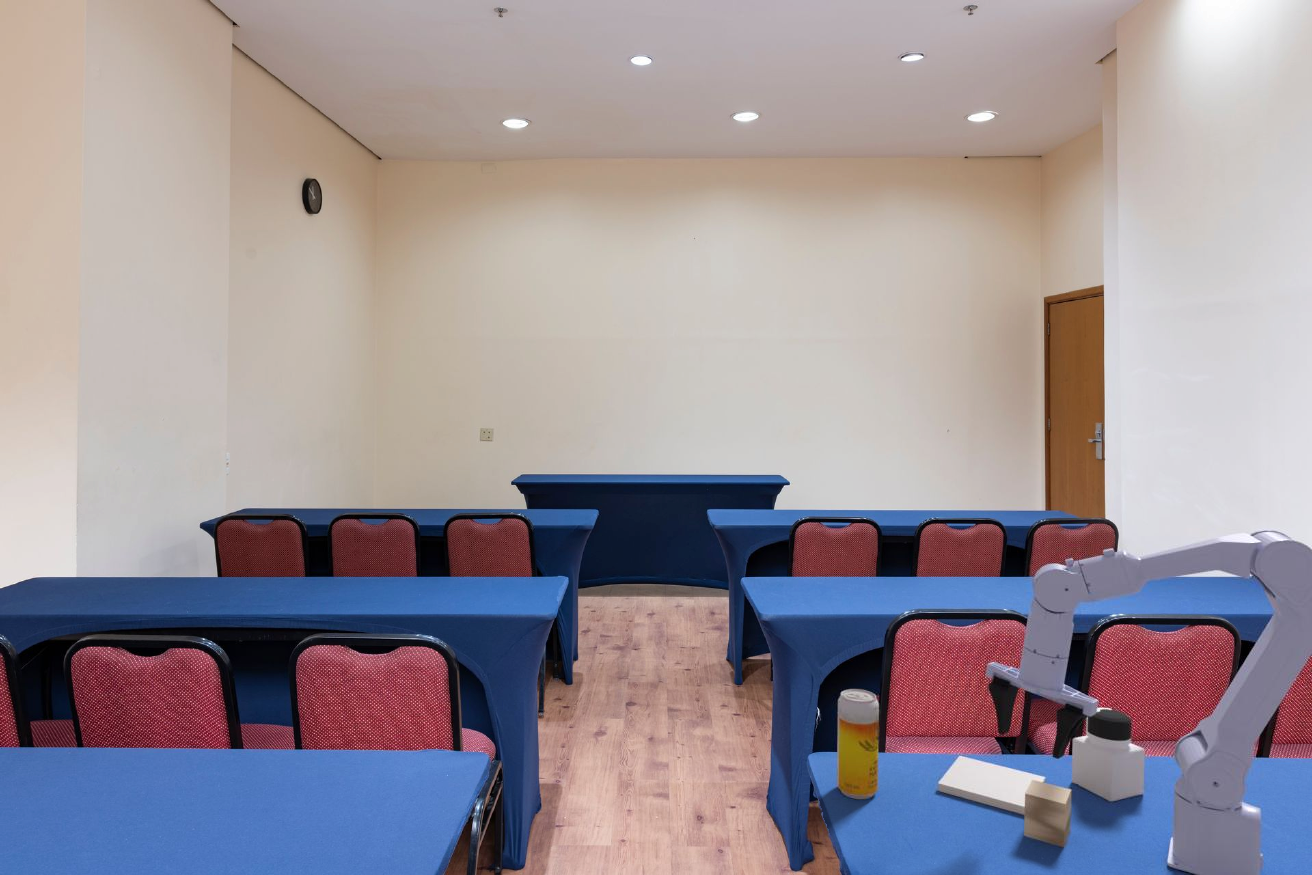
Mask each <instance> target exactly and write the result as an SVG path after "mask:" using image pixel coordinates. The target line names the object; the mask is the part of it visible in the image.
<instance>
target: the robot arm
mask: <svg viewBox="0 0 1312 875" xmlns="http://www.w3.org/2000/svg"><path fill="white" fill-rule="evenodd" d="M1064 562H1065V565H1064V564H1060V563H1047V564H1045V565H1043V566H1041V567H1040V568H1039V569H1038V570H1037V571H1036V572H1035V574H1034V577H1032V581H1031V583H1032V588H1033V595H1034V596H1033V598H1032V600H1031V602H1030V612H1029V613H1028V615H1027V622H1026V628H1025V632H1024V639H1023V647H1022V651H1021V658H1020V665H1019V668H1015V667H1013V666H1008V665H1005V664H1002V663H998V662H995V661H992V662H990V663H989V662H988V663H987V665H986V671H985V677H986V678H989V679H991V682H989V683H988V687H987V688H988V691H989V693H990V697H991V699H992V701H993V705H994V709H995V714H996V721H997V733H998V734H999V735H1001V736H1004V735H1005V734H1008V733H1010V729H1011V726H1012V718H1013V713H1014V712H1013V711H1014V706H1015V703H1016V698H1017V695H1018V692H1019V690H1020V689H1021V690H1024V691H1027V692H1029V693H1032V694H1035V695H1038V696H1041V697H1042V698H1045V699H1047V700H1050V701H1053V702H1055V703H1058V704H1061V705H1062V706H1063V705H1064V707H1061V708H1058V709H1057V710H1056V732H1055V739H1054V744H1053V749H1052V758H1055V759H1057V760H1059V759H1060V758H1062V757H1064V756H1065V752H1066V751H1067V748H1068V745H1069V743H1070V742H1071V740H1072V739H1073V737H1074V734H1075V732H1076V731H1077V730H1078V729H1079V727H1080V726H1081V725H1082V723H1083V722H1084V721H1085V720H1087V717H1088V716H1090V717H1091V716H1093V715H1095V714H1096V712H1097V708H1098V705H1099V699H1096V698H1094V697H1091V696H1089V695H1086V694H1085V693H1082V692H1081V691H1079V690H1076V689H1074V688H1073V687H1072V686H1069V685H1066V684H1065V679H1066V674H1067V668H1068V662H1069V657H1070V652H1071V651H1070V650H1071V646H1072V645H1071V644H1072V638H1073V633H1074V628H1075V624H1074V620H1073V619H1074V614H1075V610H1076V608H1078V607H1079V605H1080V604H1081V603H1082V602H1084V603H1086V604H1087V603H1088V604H1089V603H1093V602H1095V603H1096V602H1098V601H1100V602H1101V601H1104V600H1110V599H1115V598H1119V597H1124V596H1130V595H1135V594H1136V595H1137V594H1139V593H1140V592H1141V590H1142V589H1143V588H1144V586H1145V584H1146V583H1148V582H1150V581H1151V582H1152V581H1157V580H1163V579H1170V578H1175V577H1176V578H1177V577H1181V576H1182V577H1183V576H1187V575H1195V574H1201V573H1206V572H1215V571H1219V572H1220V571H1221V572H1223V573H1226V574H1230V575H1233V576H1236V577H1237V576H1238V577H1240V578H1244V579H1247V580H1250V579H1251V576H1252V577H1253V578H1254V579H1255V580H1256V581H1257V582H1258V583H1259V584H1260V585H1261V587H1262V588H1263V592H1264V593H1265V596H1266V597H1267V600H1268V601H1269V603H1270V605H1271V607H1272V610H1273V612H1274V613H1273V614H1272V616H1271V618H1270V620H1269V621H1268V623H1266V627H1265V628H1264V629H1263V631H1262V632H1261V635H1259V637H1258V639H1257V641H1256V642H1255V644H1254V646H1253V647H1252V648H1251V651H1249V654H1248V655H1247V657H1246V658H1245V660H1244V662H1243V664H1242V665H1241V666H1240V668H1239V670H1238V671H1237V673H1236V674H1235V676H1234V678H1233V680H1232V681H1231V682H1230V684H1229V686H1228V687H1227V689H1226V690H1225V692H1224V694H1223V695H1222V697H1221V698H1220V701H1219V702H1218V703H1217V705H1216V707H1215V708H1214V710H1213V712H1212V713H1211V715H1209V716H1207V717H1205V718H1204V719H1202V720H1199V722H1198V724H1197V725H1196V727H1195V728H1194V729H1193V730H1192V731H1190V732H1189V733H1187V734H1185V735H1183V736H1181V737H1180V738H1179V739H1178V741H1177V742H1176V743H1175V746H1174V748H1173V749H1174V750H1173V753H1174V755H1173V756H1174V759H1175V761H1176V764H1177V765H1178V767H1179V768H1180V771H1181V772H1182V773H1181V775H1180V777H1179V778H1178V780H1177V781H1175V783H1174V789H1173V794H1174V795H1173V819H1172V821H1173V825H1172V826H1173V827H1172V837H1170V841H1169V847H1168V854H1167V861H1166V865H1167V866H1168V867H1170V868H1173V869H1176V870H1181V871H1184V872H1188V873H1190V874H1194V875H1260V871H1261V870H1263V868H1264V867H1263V866H1264V854H1263V853H1261V849H1262V848H1261V846H1262V845H1261V843H1262V810H1261V808H1259V807H1257V806H1254V805H1252V804H1249V803H1246V802H1244V801H1243V798H1244V796H1245V795H1246V790H1247V785H1246V779H1247V775H1248V773H1249V771H1250V769H1251V768H1252V766H1253V760H1254V749H1255V744H1256V742H1257V740H1258V739H1259V737H1260V735H1261V734H1262V733H1263V731H1264V729H1265V727H1266V726H1267V725H1268V723H1269V722H1270V720H1271V718H1272V717H1273V715H1274V714H1275V713H1276V711H1277V709H1278V707H1279V706H1280V704H1281V703H1282V701H1283V699H1284V697H1285V696H1286V695H1287V693H1288V692H1289V690H1290V689H1291V687H1292V686H1293V684H1294V682H1295V681H1296V680H1297V678H1298V676H1299V674H1300V673H1301V671H1302V670H1303V668H1304V667H1305V665H1306V663H1307V662H1308V660H1309V659H1310V657H1311V656H1312V548H1311V547H1309V546H1308V545H1306V544H1305V543H1303V542H1302V541H1297V540H1294V539H1293V538H1292V537H1289V536H1288V535H1287V534H1285V533H1283V532H1281V531H1277V530H1274V529H1261V530H1256V531H1254V532H1251V533H1250V534H1249V533H1247V532H1240V533H1232V534H1228V535H1224V536H1219V537H1214V538H1211V539H1207V540H1203V541H1199V542H1194V543H1190V544H1186V545H1183V546H1182V545H1181V546H1178V547H1175V548H1171V549H1167V550H1163V551H1162V550H1161V551H1158V552H1155V553H1150V554H1146V555H1142V556H1135V555H1133V554H1131V553H1130V552H1127V551H1126V550H1121V551H1115V549H1114V548H1111V547H1110V548H1107V549H1103V550H1102V555H1097V556H1093V557H1087V558H1083V559H1079V560H1074V559H1073V558H1072V557H1070V558H1066V559H1065V561H1064Z"/></svg>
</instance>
